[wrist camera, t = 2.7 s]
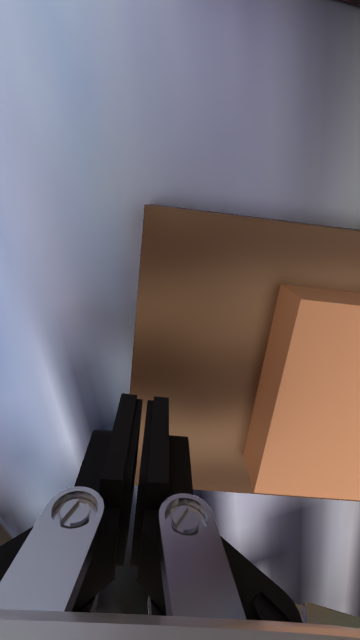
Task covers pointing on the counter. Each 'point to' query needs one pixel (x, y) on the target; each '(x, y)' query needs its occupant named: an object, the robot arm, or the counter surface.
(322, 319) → the tile
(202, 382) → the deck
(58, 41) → the counter surface
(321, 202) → the counter surface
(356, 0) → the snack box
